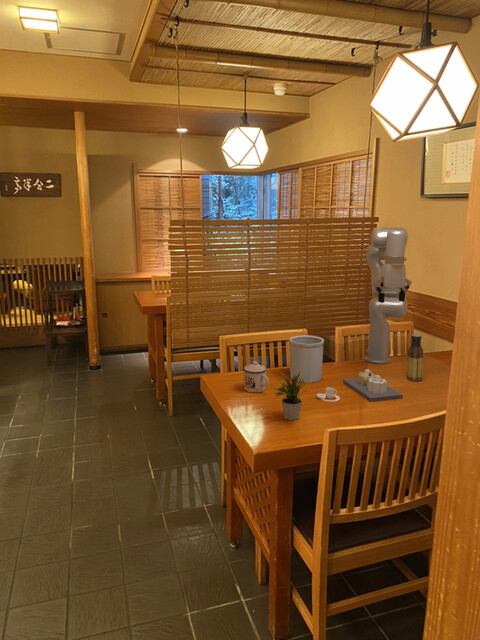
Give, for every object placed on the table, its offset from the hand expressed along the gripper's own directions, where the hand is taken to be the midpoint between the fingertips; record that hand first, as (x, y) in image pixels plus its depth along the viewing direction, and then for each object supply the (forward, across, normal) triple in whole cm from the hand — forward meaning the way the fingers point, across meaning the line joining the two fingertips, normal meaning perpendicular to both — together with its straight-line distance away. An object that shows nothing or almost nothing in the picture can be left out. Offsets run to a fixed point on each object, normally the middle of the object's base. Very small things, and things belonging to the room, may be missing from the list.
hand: (391, 301), depth 192 cm
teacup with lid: (+34, +58, -2) cm, 68 cm away
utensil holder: (+34, +33, -11) cm, 49 cm away
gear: (+33, +13, +14) cm, 38 cm away
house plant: (+34, +54, +25) cm, 69 cm away
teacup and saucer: (+35, +34, +10) cm, 50 cm away
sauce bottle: (+34, -12, +3) cm, 37 cm away
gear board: (+34, +13, +10) cm, 38 cm away
